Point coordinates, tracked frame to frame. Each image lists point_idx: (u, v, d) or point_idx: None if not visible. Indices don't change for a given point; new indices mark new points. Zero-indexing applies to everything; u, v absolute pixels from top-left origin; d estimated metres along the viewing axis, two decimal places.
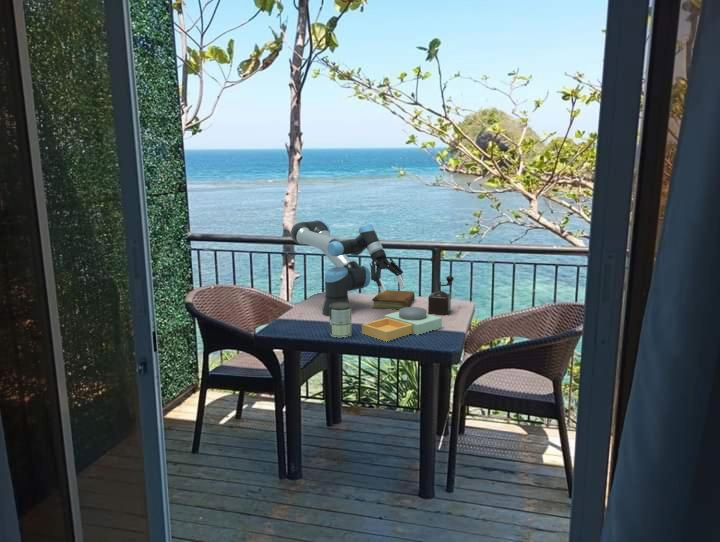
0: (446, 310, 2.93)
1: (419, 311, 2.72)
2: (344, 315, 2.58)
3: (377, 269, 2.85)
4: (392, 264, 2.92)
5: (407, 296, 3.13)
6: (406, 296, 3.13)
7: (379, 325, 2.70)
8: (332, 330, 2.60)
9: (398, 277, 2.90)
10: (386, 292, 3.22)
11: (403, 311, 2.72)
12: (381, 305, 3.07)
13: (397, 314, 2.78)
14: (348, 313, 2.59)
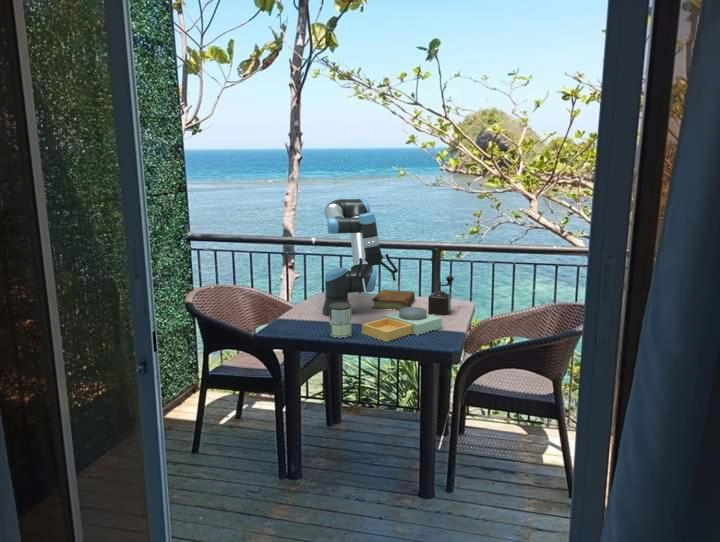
0: (446, 310, 2.93)
1: (419, 311, 2.72)
2: (344, 315, 2.58)
3: (366, 266, 2.71)
4: None
5: (407, 296, 3.13)
6: (406, 296, 3.13)
7: (379, 325, 2.70)
8: (332, 330, 2.60)
9: None
10: (386, 292, 3.22)
11: (403, 311, 2.72)
12: (381, 305, 3.07)
13: (397, 314, 2.78)
14: (348, 313, 2.59)
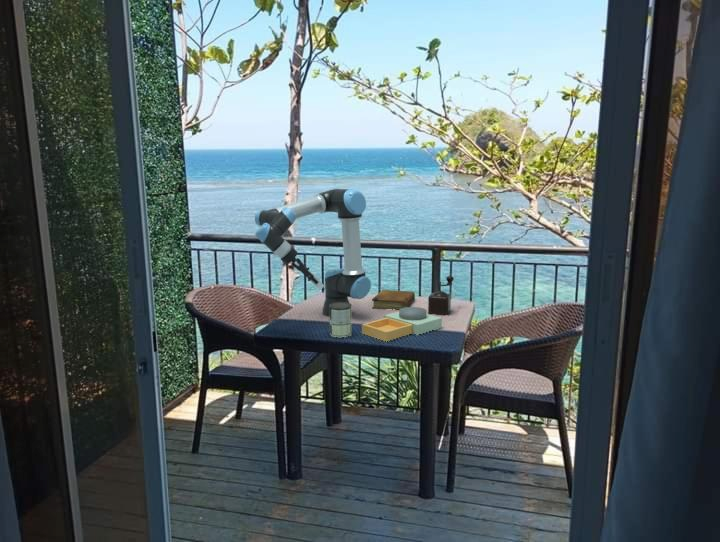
0: (446, 310, 2.93)
1: (419, 311, 2.72)
2: (344, 315, 2.58)
3: None
4: None
5: (407, 296, 3.13)
6: (406, 296, 3.13)
7: (379, 325, 2.70)
8: (332, 330, 2.60)
9: None
10: (386, 292, 3.22)
11: (403, 311, 2.72)
12: (381, 305, 3.07)
13: (397, 314, 2.78)
14: (348, 313, 2.59)
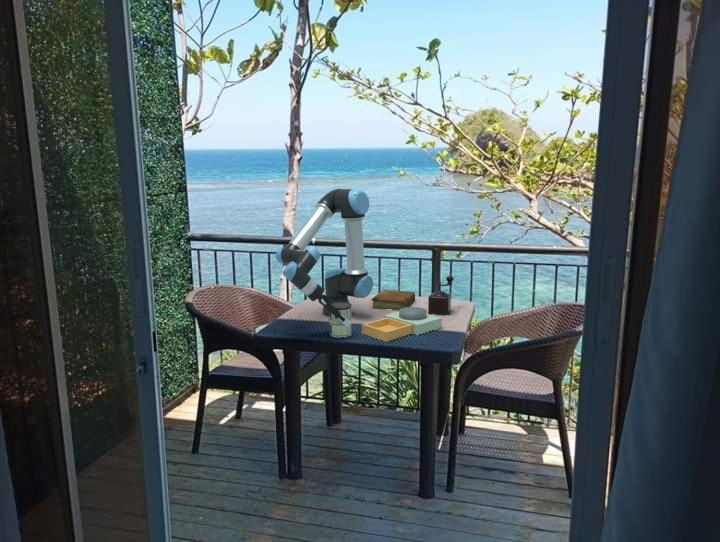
0: (446, 310, 2.93)
1: (419, 311, 2.72)
2: (344, 315, 2.58)
3: None
4: None
5: (407, 296, 3.13)
6: (406, 296, 3.13)
7: (379, 325, 2.70)
8: (332, 330, 2.60)
9: None
10: (386, 292, 3.23)
11: (403, 311, 2.72)
12: (380, 305, 3.08)
13: (397, 314, 2.78)
14: (348, 313, 2.59)
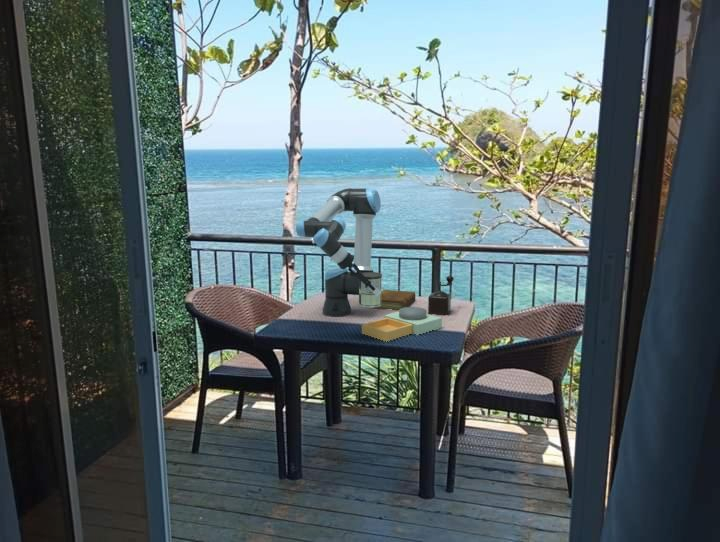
0: (446, 310, 2.93)
1: (419, 311, 2.72)
2: (374, 284, 2.53)
3: None
4: None
5: (407, 296, 3.12)
6: (406, 296, 3.12)
7: (379, 325, 2.70)
8: (361, 300, 2.56)
9: None
10: (387, 292, 3.23)
11: (403, 311, 2.72)
12: None
13: (397, 314, 2.78)
14: (378, 283, 2.54)
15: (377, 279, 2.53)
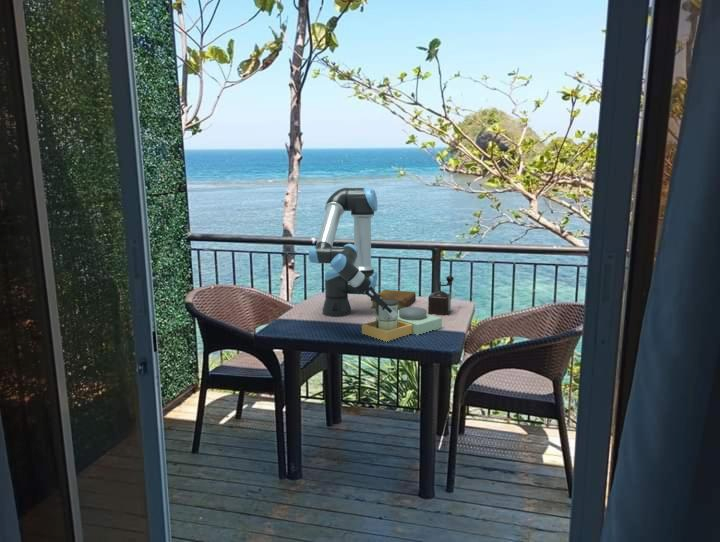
0: (446, 310, 2.93)
1: (419, 311, 2.72)
2: None
3: None
4: None
5: (406, 296, 3.12)
6: (405, 296, 3.12)
7: None
8: (379, 326, 2.60)
9: None
10: (387, 292, 3.23)
11: (403, 311, 2.72)
12: None
13: None
14: (395, 309, 2.58)
15: (394, 306, 2.58)
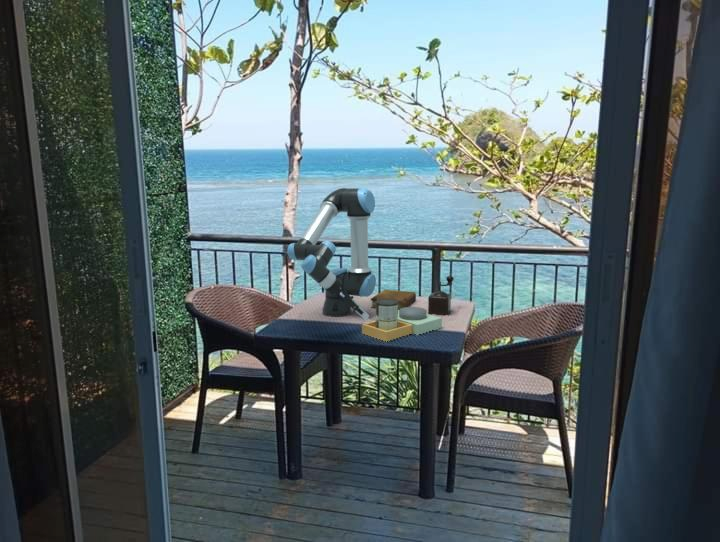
0: (446, 310, 2.93)
1: (419, 311, 2.72)
2: (392, 311, 2.57)
3: None
4: None
5: (406, 296, 3.12)
6: (405, 296, 3.12)
7: None
8: (379, 326, 2.60)
9: None
10: (387, 292, 3.23)
11: (403, 311, 2.72)
12: None
13: None
14: (395, 309, 2.58)
15: (394, 306, 2.58)
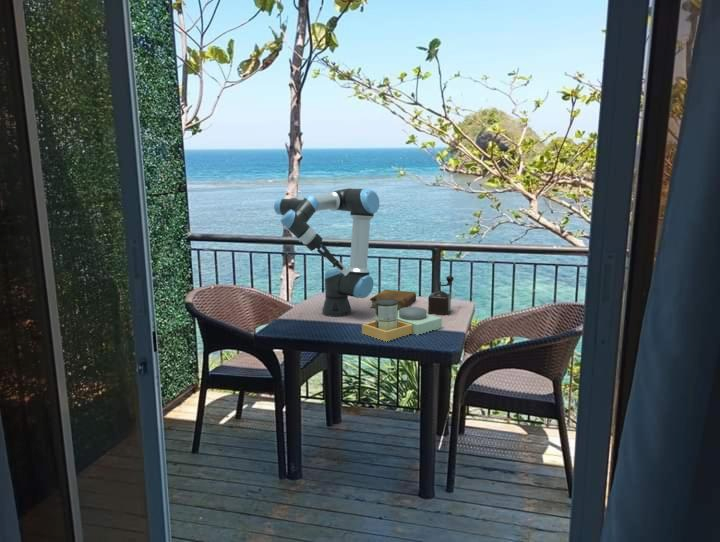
0: (446, 310, 2.93)
1: (419, 311, 2.72)
2: (391, 311, 2.57)
3: None
4: None
5: (406, 296, 3.12)
6: (405, 296, 3.12)
7: None
8: (379, 326, 2.60)
9: None
10: (387, 292, 3.23)
11: (403, 311, 2.72)
12: None
13: None
14: (395, 309, 2.58)
15: (394, 306, 2.58)
